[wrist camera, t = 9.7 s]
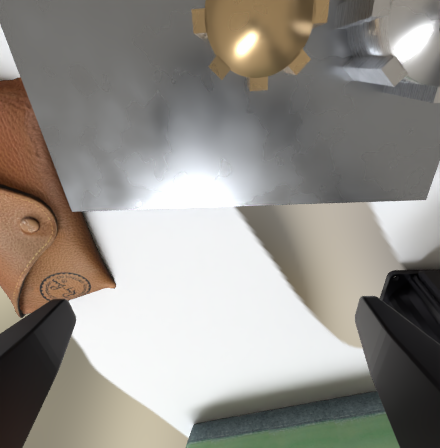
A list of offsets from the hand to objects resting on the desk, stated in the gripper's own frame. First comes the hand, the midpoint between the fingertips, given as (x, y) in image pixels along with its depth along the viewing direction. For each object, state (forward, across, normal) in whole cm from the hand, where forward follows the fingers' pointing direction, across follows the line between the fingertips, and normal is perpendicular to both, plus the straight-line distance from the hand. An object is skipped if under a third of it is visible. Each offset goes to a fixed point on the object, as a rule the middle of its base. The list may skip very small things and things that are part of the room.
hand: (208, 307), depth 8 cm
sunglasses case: (+13, +15, +2) cm, 20 cm away
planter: (+12, -6, +33) cm, 36 cm away
